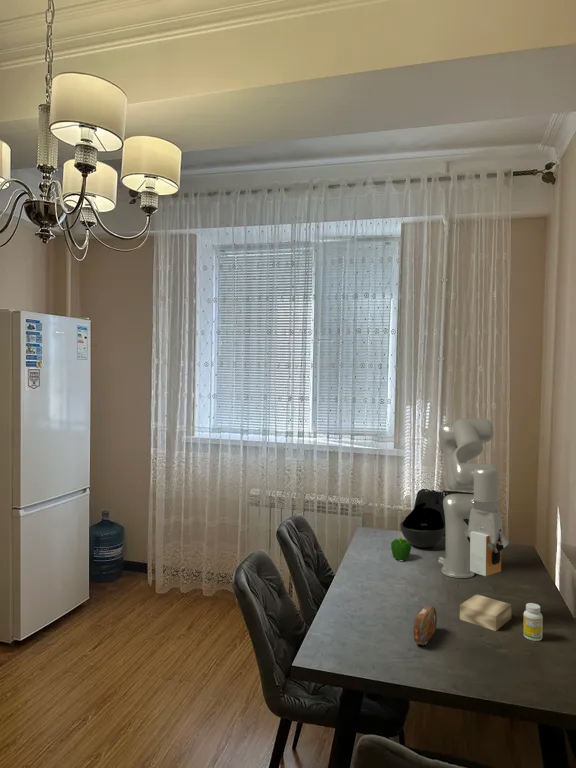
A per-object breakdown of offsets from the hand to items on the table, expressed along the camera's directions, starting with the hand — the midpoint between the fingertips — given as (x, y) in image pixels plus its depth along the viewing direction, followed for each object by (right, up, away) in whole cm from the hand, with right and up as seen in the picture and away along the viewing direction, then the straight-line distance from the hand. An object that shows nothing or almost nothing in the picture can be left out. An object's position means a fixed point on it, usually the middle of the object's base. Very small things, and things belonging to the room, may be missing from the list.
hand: (485, 560), depth 181 cm
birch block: (0, -20, +1) cm, 20 cm away
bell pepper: (-16, -18, +58) cm, 63 cm away
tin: (-23, -20, -12) cm, 33 cm away
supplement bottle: (+10, -20, -12) cm, 25 cm away
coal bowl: (-2, -18, +75) cm, 77 cm away
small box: (0, -4, 0) cm, 4 cm away
